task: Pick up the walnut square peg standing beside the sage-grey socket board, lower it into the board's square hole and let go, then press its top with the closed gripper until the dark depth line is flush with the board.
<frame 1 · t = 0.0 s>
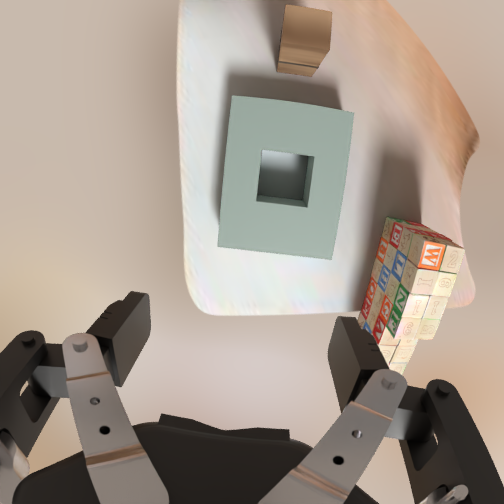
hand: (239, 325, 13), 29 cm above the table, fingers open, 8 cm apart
walnut peg: (295, 59, 34), on the table
stack of blocks: (385, 285, 44), on the table
socket board: (282, 175, 39), on the table
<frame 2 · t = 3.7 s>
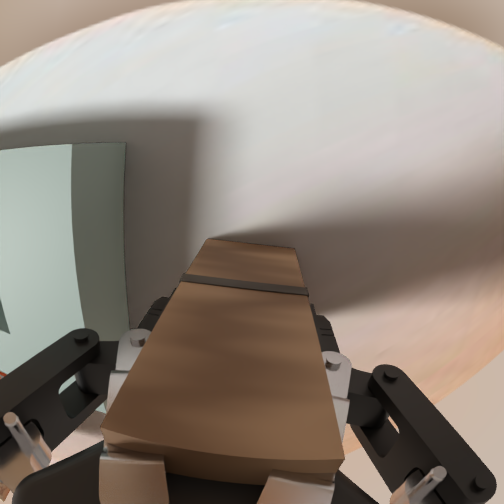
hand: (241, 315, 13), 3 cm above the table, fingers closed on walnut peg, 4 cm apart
walnut peg: (246, 283, 16), on the table, touching gripper
socket board: (17, 250, 17), on the table
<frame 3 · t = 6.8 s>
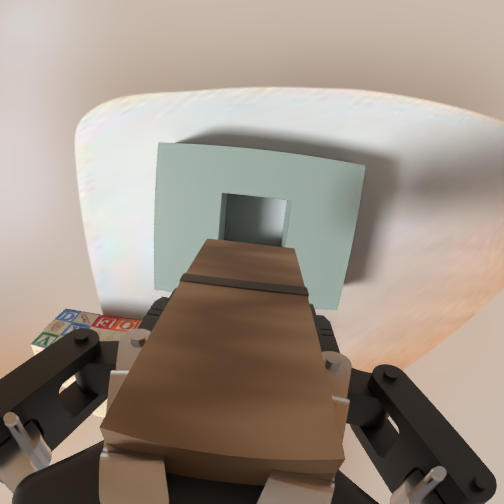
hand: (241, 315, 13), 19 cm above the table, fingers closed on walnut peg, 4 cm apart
walnut peg: (246, 283, 16), point 16 cm above the table, touching gripper
stack of blocks: (134, 336, 38), on the table
socket board: (255, 217, 32), on the table
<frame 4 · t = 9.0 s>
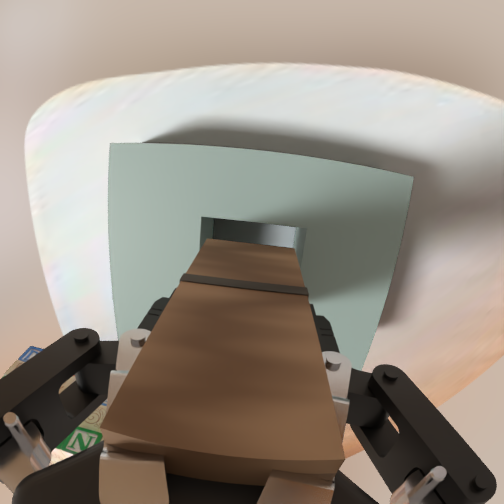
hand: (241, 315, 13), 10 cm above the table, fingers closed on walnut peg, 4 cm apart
walnut peg: (246, 283, 16), point 7 cm above the table, touching gripper
stack of blocks: (108, 380, 29), on the table
socket board: (252, 245, 23), on the table
when the fingers open (6 cm above the table, at t = 10.4 s): walnut peg drops 3 cm, resting in socket board.
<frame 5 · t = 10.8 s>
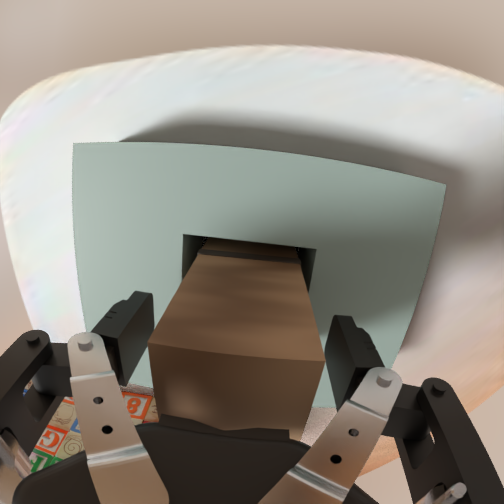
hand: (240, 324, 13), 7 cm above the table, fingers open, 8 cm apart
walnut peg: (250, 263, 19), resting in socket board
stack of blocks: (93, 402, 25), on the table
socket board: (248, 263, 19), on the table
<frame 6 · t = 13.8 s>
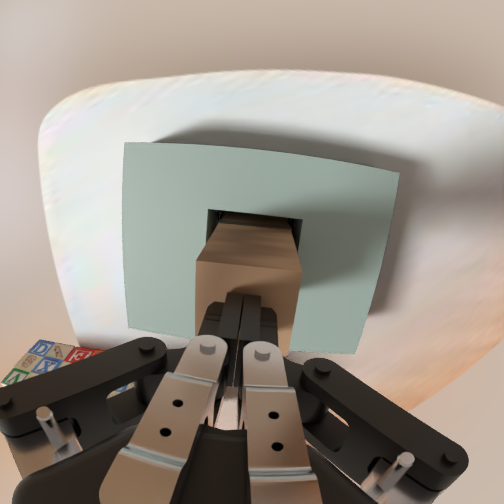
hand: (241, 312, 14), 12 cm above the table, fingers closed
walnut peg: (254, 237, 25), resting in socket board, touching gripper
stack of blocks: (114, 369, 31), on the table
socket board: (253, 237, 25), on the table
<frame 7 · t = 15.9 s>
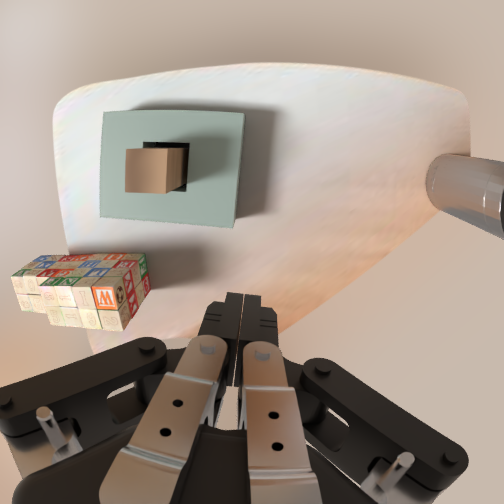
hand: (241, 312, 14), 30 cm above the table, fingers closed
walnut peg: (175, 163, 40), resting in socket board
stack of blocks: (91, 271, 46), on the table
socket board: (174, 164, 40), on the table
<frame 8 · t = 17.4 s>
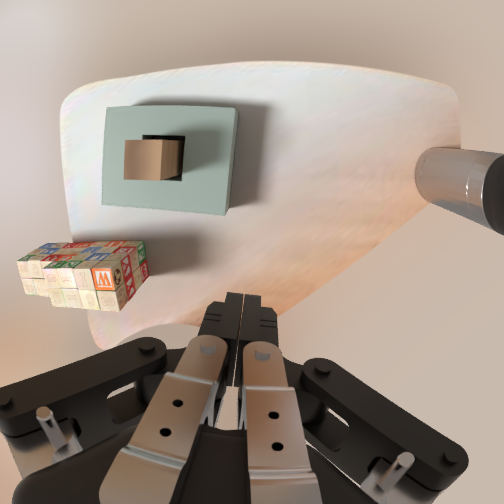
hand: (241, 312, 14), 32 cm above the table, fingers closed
walnut peg: (173, 156, 42), resting in socket board
stack of blocks: (93, 258, 48), on the table
socket board: (172, 156, 42), on the table
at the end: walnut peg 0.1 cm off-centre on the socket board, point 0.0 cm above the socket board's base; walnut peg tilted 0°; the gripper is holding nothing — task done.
